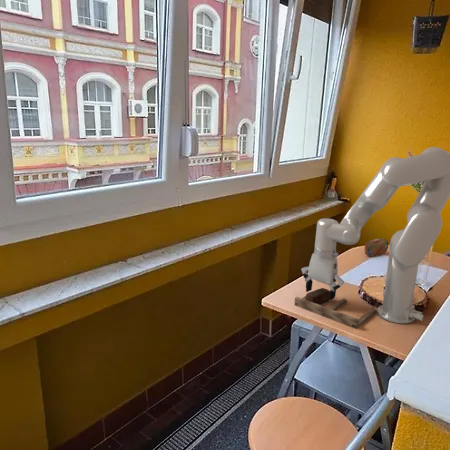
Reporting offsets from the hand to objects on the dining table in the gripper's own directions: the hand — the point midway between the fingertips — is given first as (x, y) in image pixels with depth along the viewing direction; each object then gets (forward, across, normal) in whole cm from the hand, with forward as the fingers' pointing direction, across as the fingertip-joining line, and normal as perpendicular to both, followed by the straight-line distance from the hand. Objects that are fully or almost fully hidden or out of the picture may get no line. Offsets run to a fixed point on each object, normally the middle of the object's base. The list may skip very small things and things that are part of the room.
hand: (319, 294), depth 152 cm
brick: (+4, +1, 0) cm, 4 cm away
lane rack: (+3, -6, 0) cm, 7 cm away
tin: (+3, +7, -68) cm, 69 cm away
